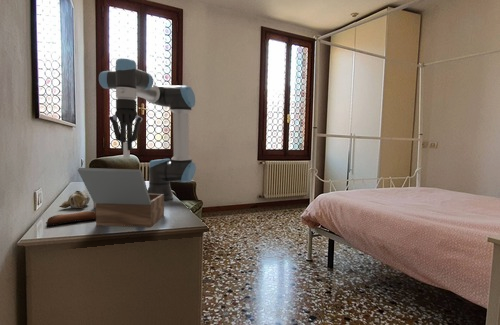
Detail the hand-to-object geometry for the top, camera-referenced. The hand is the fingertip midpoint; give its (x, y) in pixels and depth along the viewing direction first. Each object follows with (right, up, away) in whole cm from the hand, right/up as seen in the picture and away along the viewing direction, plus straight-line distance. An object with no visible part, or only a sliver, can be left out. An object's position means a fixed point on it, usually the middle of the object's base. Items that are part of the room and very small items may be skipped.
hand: (126, 158), depth 122 cm
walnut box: (-1, -27, +8) cm, 28 cm away
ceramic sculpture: (-36, -24, +28) cm, 52 cm away
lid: (0, -11, -8) cm, 13 cm away
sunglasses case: (-24, -27, +4) cm, 37 cm away
